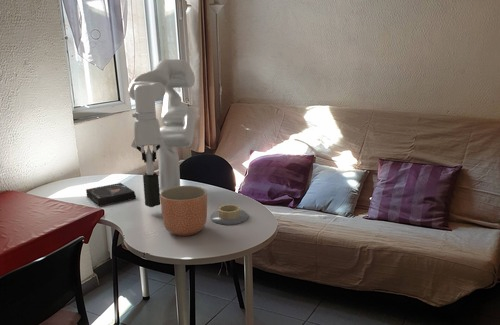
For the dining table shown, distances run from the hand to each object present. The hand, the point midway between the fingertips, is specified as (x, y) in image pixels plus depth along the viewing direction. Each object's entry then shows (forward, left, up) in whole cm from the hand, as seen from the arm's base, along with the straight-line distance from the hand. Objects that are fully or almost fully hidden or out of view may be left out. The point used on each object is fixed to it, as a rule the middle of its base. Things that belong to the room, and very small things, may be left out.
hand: (149, 161), depth 179 cm
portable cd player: (-26, -18, -23) cm, 39 cm away
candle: (0, 0, -19) cm, 19 cm away
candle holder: (+12, +30, -23) cm, 39 cm away
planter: (+21, +11, -23) cm, 33 cm away
